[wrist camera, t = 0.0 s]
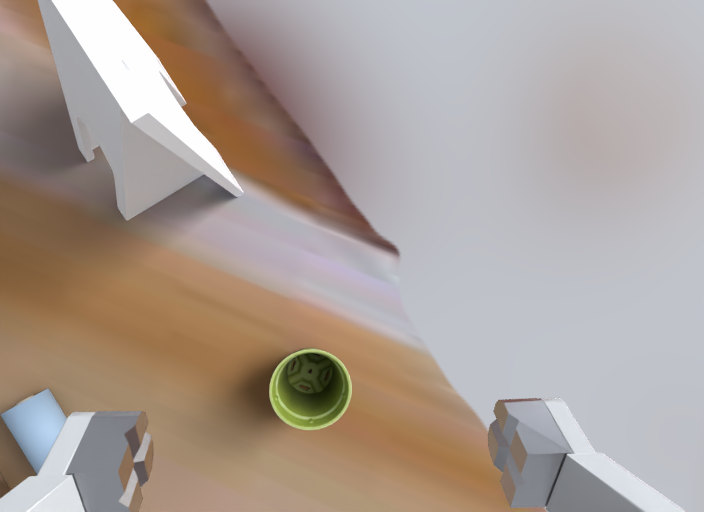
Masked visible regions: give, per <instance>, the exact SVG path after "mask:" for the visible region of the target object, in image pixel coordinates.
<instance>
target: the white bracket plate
mask: <svg viewBox="0 0 704 512" xmlns="http://www.w3.org/2000/svg"><path fill="white" fill-rule="evenodd" d="M38 3H39V7H40V10H41V14H42V17H43V21H44V25H45V28H46V32H47V36H48V39H49V43H50V46H51V50H52V54H53V57H54V61H55V65H56V68H57V72H58V75H59V79H60V83H61V86H62V90H63V93H64V97H65V101H66V104H67V108H68V112H69V115H70V119H71V122H72V126H73V130H74V133H75V137H76V141H77V144H78V148H79V150H80V151H81V153H82V154H83V156H84V157H85V159H86V160H87V162H89V161H91V160H93V159H94V158H95V157H94V153H93V149H95V148H97V147H98V146H100V147H101V149H102V151H103V153H104V155H105V156H106V158H107V160H108V162H109V164H110V167H111V169H112V171H113V174H114V180H115V189H116V197H117V206H118V209H119V210H120V212H121V214H122V215H123V217H124V218H125V220H126V221H128V220H130V219H131V218H133V217H134V216H136V215H138V214H139V213H141V212H143V211H144V210H146V209H148V208H149V207H151V206H153V205H154V204H156V203H158V202H159V201H161V200H163V199H164V198H166V197H168V196H169V195H171V194H172V193H174V192H176V191H177V190H179V189H181V188H182V187H184V186H186V185H187V184H189V183H191V182H192V181H194V180H196V179H197V178H199V177H201V176H202V175H204V174H205V175H206V176H208V177H209V178H210V179H212V180H213V181H215V182H216V183H218V184H219V185H220V186H222V187H223V188H225V189H226V190H228V191H229V192H230V193H232V194H233V195H235V196H236V197H239V196H240V195H242V194H244V193H243V191H242V189H241V188H240V186H239V185H238V183H237V182H236V180H235V178H234V177H233V175H232V174H231V172H230V171H229V169H228V167H227V166H226V164H225V163H224V161H223V160H222V158H221V156H220V155H219V153H218V152H217V150H216V149H215V148H214V147H213V145H212V144H211V143H210V142H209V141H208V140H207V139H206V138H205V137H204V136H203V135H202V134H201V132H200V131H199V130H198V129H197V128H196V127H195V126H194V125H193V123H192V122H191V121H190V119H189V118H188V116H187V115H186V114H185V112H184V111H183V109H182V108H181V107H182V106H184V105H185V104H187V103H186V102H185V100H184V98H183V97H182V95H181V94H180V92H179V91H178V89H177V87H176V86H175V84H174V83H173V81H172V80H171V78H170V76H169V75H168V73H167V72H166V70H165V69H164V67H163V65H162V64H161V62H160V61H159V59H158V58H157V56H156V55H155V54H154V53H153V51H152V50H151V49H150V47H149V46H148V45H147V44H146V42H145V41H144V40H143V39H142V37H141V36H140V35H139V33H138V32H137V31H136V30H135V28H134V27H133V26H132V25H131V23H130V22H129V21H128V19H127V18H126V17H125V16H124V14H123V13H122V12H121V11H120V9H119V8H118V7H117V5H116V4H115V3H114V2H113V0H38Z"/></svg>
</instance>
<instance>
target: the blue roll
mask: <svg viewBox="0 0 704 512" xmlns="http://www.w3.org/2000/svg"><path fill="white" fill-rule="evenodd" d="M15 405H16V406H15V407H13V408H11V409H9V410H7V411H6V412H4V413H2V414H0V415H1V417H2V418H3V420H4V422H5V423H6V425H7V427H8V428H9V430H10V431H11V433H12V435H13V436H14V438H15V440H16V441H17V443H18V445H19V446H20V448H21V449H22V451H23V453H24V454H25V456H26V458H27V459H28V461H29V463H30V464H31V466H32V467H33V469H34V471H35V472H36V474H38V472H39V471H40V469H41V467H42V465H43V463H44V461H45V459H46V457H47V455H48V453H49V452H50V450H51V448H52V446H53V444H54V442H55V440H56V438H57V436H58V434H59V433H60V431H61V429H62V427H63V425H64V423H65V421H66V419H67V418H66V416H65V415H64V413H63V411H62V410H61V408H60V406H59V405H58V403H57V401H56V400H55V398H54V396H53V395H52V393H51V391H50V390H49V388H48V389H46V390H44V391H42V392H40V393H38V394H37V395H35V396H33V395H32V396H30V397H28V398H26V399H24V400H22V401H21V402H19V403H17V404H15Z"/></svg>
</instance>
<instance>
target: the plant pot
mask: <svg viewBox="0 0 704 512" xmlns="http://www.w3.org/2000/svg"><path fill="white" fill-rule="evenodd" d="M311 353H316V354H320V355H321V356H320V357H319V356H317V355H314V354H311ZM293 361H296V363H295V365H294V368H293V370H291V367H292V363H293ZM310 369H311V370H312V373H309V372H308V371H309V370H310ZM327 371H329V377H328V379H327V380H325V377H326V375H327ZM300 385H302V386H305V387H309V388H310V389H309V390H305V389H302V388H301V387H300ZM351 392H352V386H351V380H350V376H349V374H348V371H347V369H346V368H345V366H344V365H343V363H342V362H341V361H340V360H339V359H338V358H336V357H335V356H334V355H332V354H330V353H328V352H326V351H322V350H319V349H316V348H305V349H302V350H300V351H298V352H295V353H293V354H291V355H289V356H288V357H286V358H285V359H284V360H283V361H281V362H280V364H279V365H278V366H277V368H276V369H275V371H274V373H273V375H272V378H271V381H270V386H269V397H270V401H271V404H272V407H273V409H274V411H275V412H276V414H277V415H278V416H279V418H280V419H281V420H283V421H284V422H285V423H287V424H288V425H290V426H292V427H295V428H298V429H302V430H317V429H321V428H324V427H327V426H329V425H331V424H333V423H334V422H335V421H337V420H338V419H339V418H340V417H341V416H342V415H343V413H344V412H345V411H346V409H347V407H348V404H349V402H350V398H351Z"/></svg>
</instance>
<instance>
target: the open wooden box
mask: <svg viewBox="0 0 704 512" xmlns="http://www.w3.org/2000/svg"><path fill="white" fill-rule="evenodd" d="M10 491H11V489H10V488H9V486H8V485H7V483H6V481H5V480H4V478H3V476H2V475H1V473H0V499H1V498H2V497H3V496H4V495H6V494H7V493H8V492H10Z"/></svg>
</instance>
